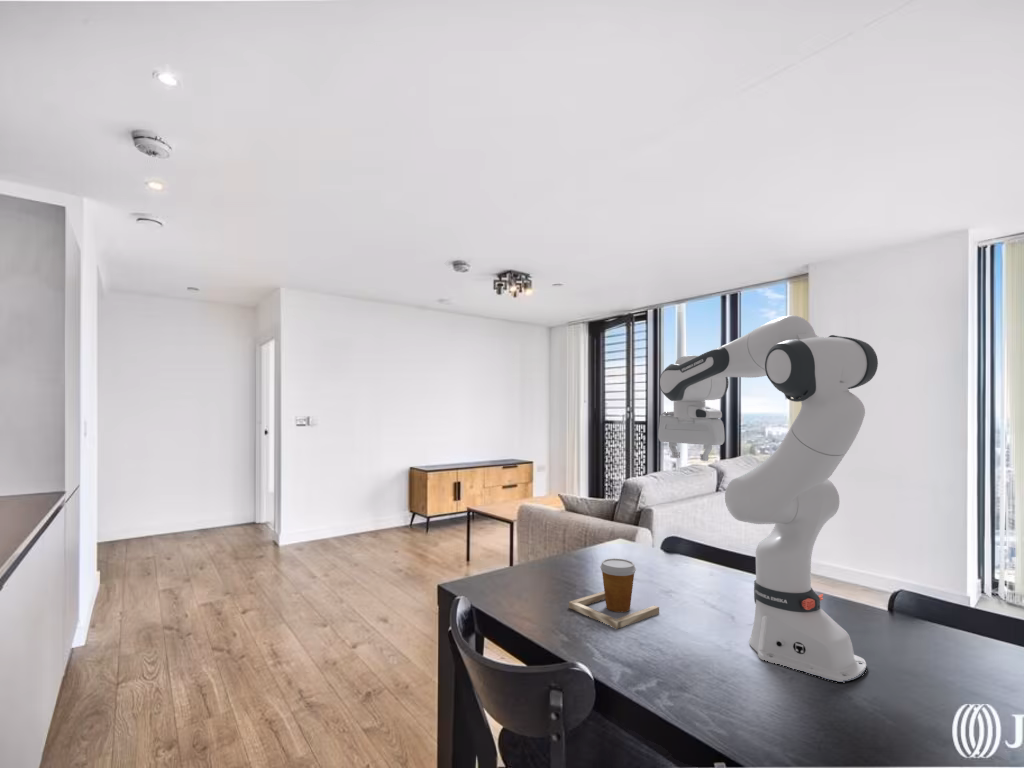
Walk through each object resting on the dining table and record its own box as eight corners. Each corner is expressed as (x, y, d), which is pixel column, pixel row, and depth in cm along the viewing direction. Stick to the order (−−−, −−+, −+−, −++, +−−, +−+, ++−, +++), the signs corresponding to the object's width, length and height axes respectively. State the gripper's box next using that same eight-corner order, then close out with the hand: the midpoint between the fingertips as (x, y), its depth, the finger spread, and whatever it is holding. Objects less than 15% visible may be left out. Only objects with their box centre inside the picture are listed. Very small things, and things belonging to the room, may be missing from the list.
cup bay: (659, 613, 138) (659, 607, 138) (616, 629, 128) (616, 622, 128) (610, 594, 151) (610, 589, 152) (568, 607, 142) (568, 601, 142)
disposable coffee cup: (639, 615, 136) (639, 568, 137) (602, 614, 137) (602, 567, 138) (632, 602, 146) (632, 558, 147) (598, 601, 146) (598, 557, 147)
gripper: (653, 411, 159) (653, 457, 159) (714, 412, 143) (715, 463, 142) (666, 411, 163) (666, 456, 163) (727, 412, 147) (728, 461, 146)
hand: (689, 459), depth 152 cm, fingers open, 8 cm apart
